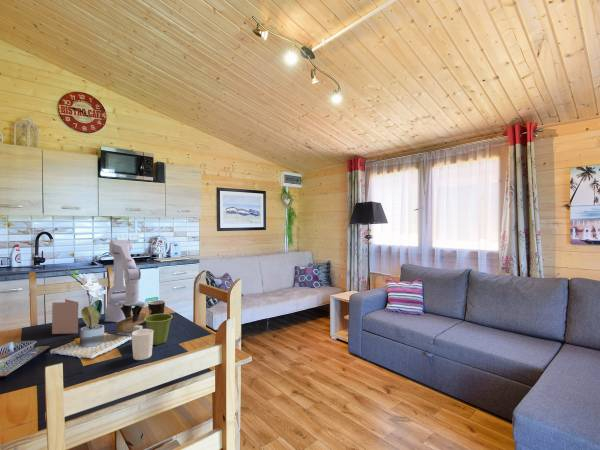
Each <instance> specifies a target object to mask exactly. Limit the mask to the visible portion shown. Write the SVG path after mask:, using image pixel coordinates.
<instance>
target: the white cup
mask: <svg viewBox="0 0 600 450" xmlns="http://www.w3.org/2000/svg"><path fill="white" fill-rule="evenodd" d="M131 345H132V346H131V347H132V358H133V360H136V361H143V360H147V359H150V358H151V357H152V355H153V330H152V329H147V328H143V329H141V330H137V331H134V332H133V333H132V336H131Z"/></svg>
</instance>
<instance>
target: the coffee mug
mask: <svg viewBox="0 0 600 450" xmlns="http://www.w3.org/2000/svg"><path fill="white" fill-rule="evenodd" d="M147 305H148V314H149V315H148V316H150V315H154V314H165V305H166V301H165V300H161V299H160V300H157V299H156V300H151V301H148V302H147Z"/></svg>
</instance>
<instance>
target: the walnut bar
mask: <svg viewBox="0 0 600 450" xmlns="http://www.w3.org/2000/svg"><path fill="white" fill-rule="evenodd" d="M145 317H147V314H146V312H140V314H139V317H138V320H137V321H136V322H134V321H133V315H131V317H128V318H126V319H124V320H121V321H119V322H116V332H120V331H122V332H123V331H125V330H128V329H130V328H132V327H134V326H136V325H141V324H143V323H146V321H145V320H144V318H145Z"/></svg>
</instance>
